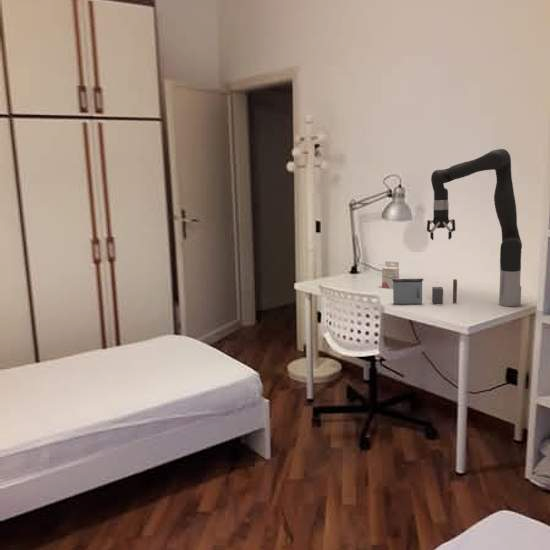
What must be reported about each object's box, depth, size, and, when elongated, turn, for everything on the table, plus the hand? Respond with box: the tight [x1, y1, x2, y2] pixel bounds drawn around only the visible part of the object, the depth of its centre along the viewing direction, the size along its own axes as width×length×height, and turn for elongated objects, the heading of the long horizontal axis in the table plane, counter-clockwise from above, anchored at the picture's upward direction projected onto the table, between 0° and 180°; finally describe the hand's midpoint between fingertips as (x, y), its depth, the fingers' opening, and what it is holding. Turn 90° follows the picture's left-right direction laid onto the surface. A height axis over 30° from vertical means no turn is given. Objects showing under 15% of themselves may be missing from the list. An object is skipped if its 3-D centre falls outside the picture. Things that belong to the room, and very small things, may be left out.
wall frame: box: [392, 278, 458, 303], centre depth 289 cm, size 32×4×13 cm, turn 82°
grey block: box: [394, 281, 423, 305], centre depth 289 cm, size 14×2×11 cm, turn 82°
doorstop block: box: [431, 286, 444, 306], centre depth 289 cm, size 5×5×8 cm
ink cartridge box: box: [381, 261, 400, 289], centre depth 327 cm, size 9×5×15 cm, turn 56°
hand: (440, 239), depth 302 cm, fingers open, 8 cm apart
